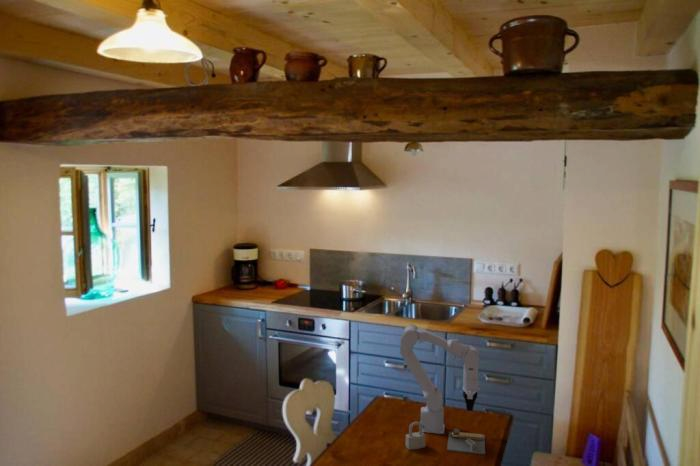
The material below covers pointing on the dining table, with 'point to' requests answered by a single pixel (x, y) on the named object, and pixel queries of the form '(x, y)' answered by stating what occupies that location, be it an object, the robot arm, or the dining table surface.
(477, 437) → the brass link
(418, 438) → the grey padlock
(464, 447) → the slate board
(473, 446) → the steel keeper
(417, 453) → the dining table surface
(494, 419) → the dining table surface
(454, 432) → the pin cap
